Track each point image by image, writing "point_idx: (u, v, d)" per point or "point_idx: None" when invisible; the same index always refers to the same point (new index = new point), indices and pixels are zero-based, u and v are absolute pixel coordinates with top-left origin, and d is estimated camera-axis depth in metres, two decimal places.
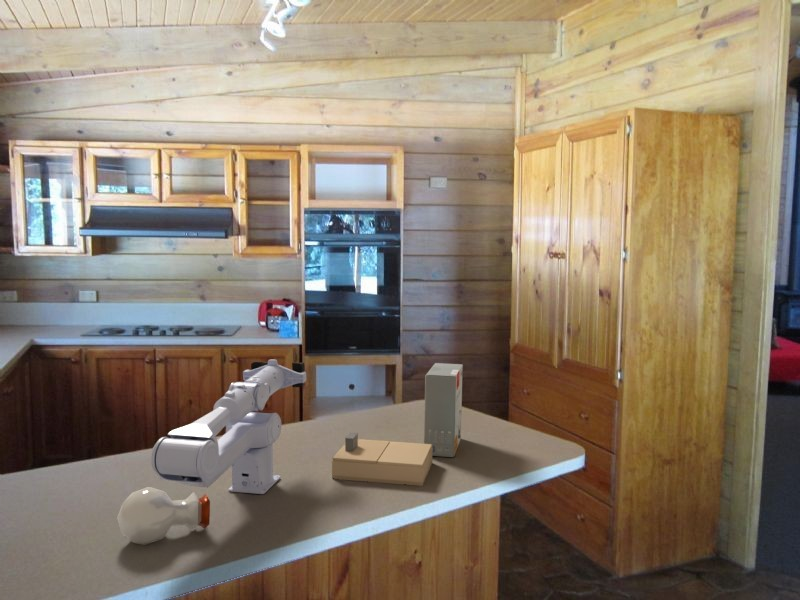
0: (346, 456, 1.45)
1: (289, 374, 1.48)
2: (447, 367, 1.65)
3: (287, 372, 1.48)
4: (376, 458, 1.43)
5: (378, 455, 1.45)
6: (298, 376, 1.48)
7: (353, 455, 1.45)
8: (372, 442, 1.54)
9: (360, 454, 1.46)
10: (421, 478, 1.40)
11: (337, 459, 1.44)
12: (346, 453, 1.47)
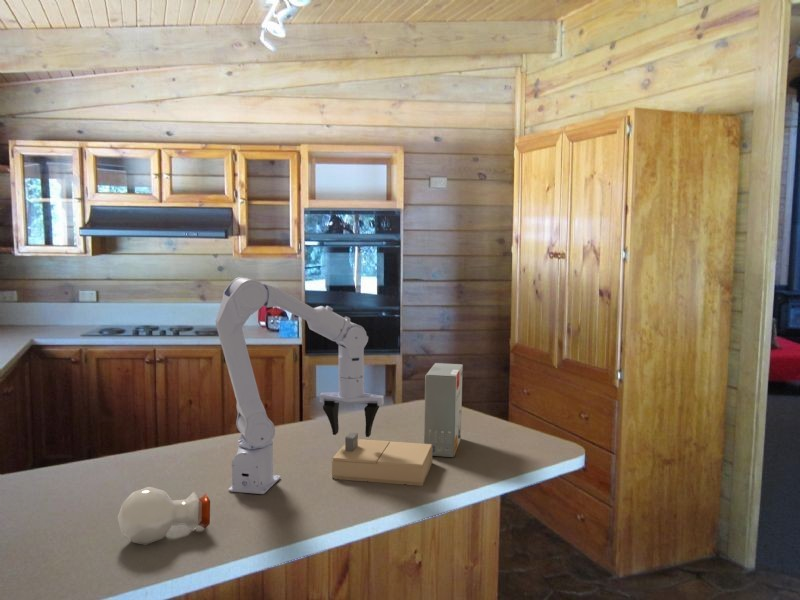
0: (346, 456, 1.45)
1: (368, 397, 1.48)
2: (447, 367, 1.65)
3: None
4: (376, 458, 1.43)
5: (378, 455, 1.45)
6: None
7: (353, 455, 1.45)
8: (372, 442, 1.54)
9: (360, 454, 1.46)
10: (421, 478, 1.40)
11: (337, 459, 1.44)
12: (346, 453, 1.47)
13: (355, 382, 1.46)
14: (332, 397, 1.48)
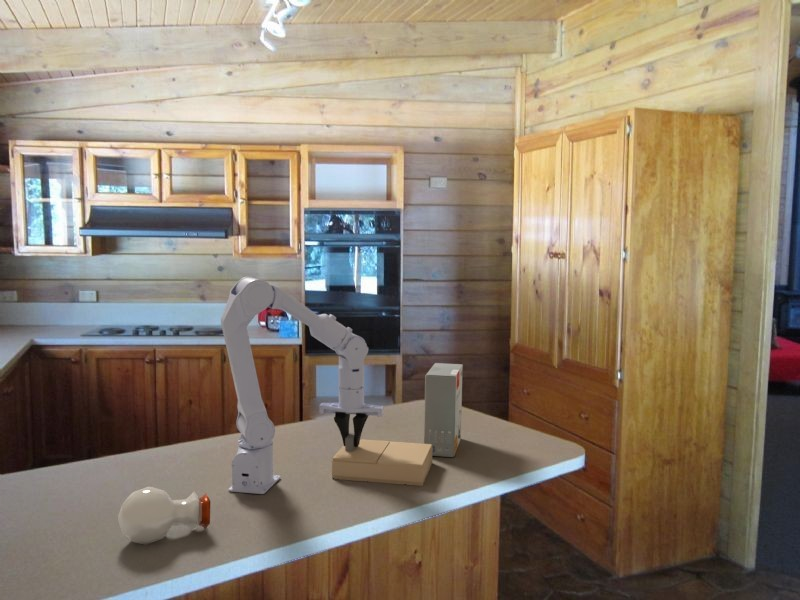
0: (346, 456, 1.45)
1: (368, 407, 1.49)
2: (447, 367, 1.65)
3: None
4: (376, 458, 1.43)
5: (378, 455, 1.45)
6: None
7: (353, 455, 1.45)
8: (372, 442, 1.54)
9: (360, 454, 1.46)
10: (421, 478, 1.40)
11: (337, 459, 1.44)
12: (346, 453, 1.47)
13: (355, 393, 1.46)
14: (332, 408, 1.48)
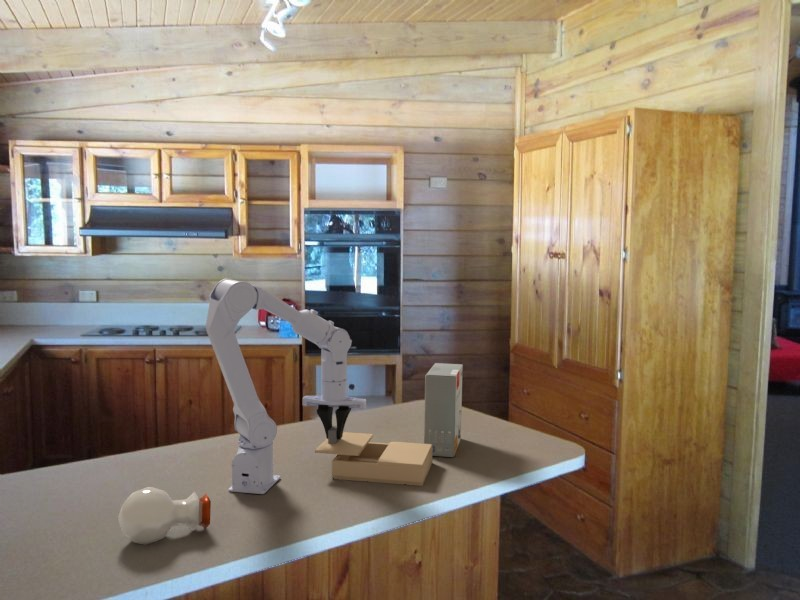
0: (329, 448, 1.45)
1: (351, 400, 1.49)
2: (447, 367, 1.65)
3: None
4: (358, 450, 1.44)
5: (360, 447, 1.46)
6: None
7: (336, 447, 1.46)
8: (355, 435, 1.55)
9: (343, 446, 1.46)
10: (421, 478, 1.40)
11: (319, 451, 1.44)
12: (329, 445, 1.47)
13: (337, 386, 1.46)
14: (315, 400, 1.48)
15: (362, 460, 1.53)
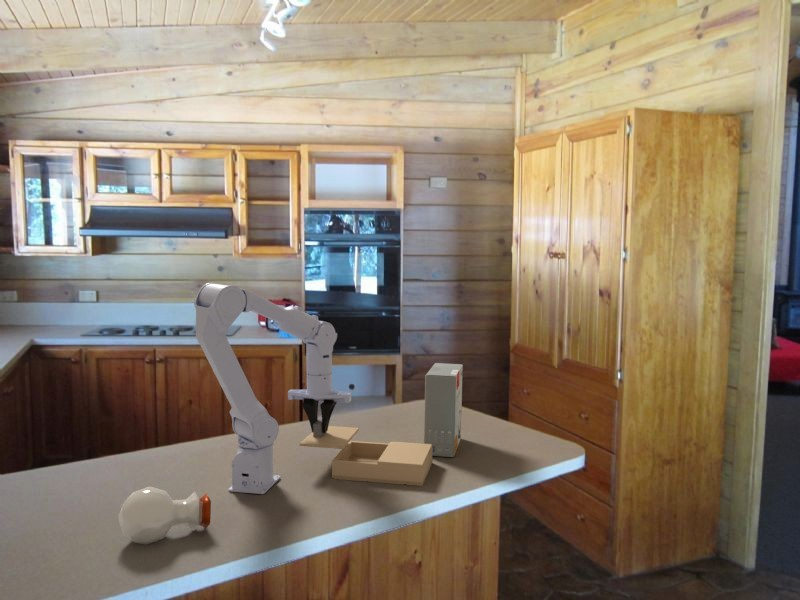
0: (314, 441, 1.46)
1: None
2: (447, 367, 1.65)
3: None
4: (343, 444, 1.45)
5: (345, 441, 1.46)
6: None
7: (321, 440, 1.47)
8: (341, 429, 1.55)
9: (327, 440, 1.47)
10: (421, 478, 1.40)
11: (304, 445, 1.45)
12: (314, 439, 1.48)
13: (322, 379, 1.47)
14: (300, 394, 1.49)
15: (362, 460, 1.53)
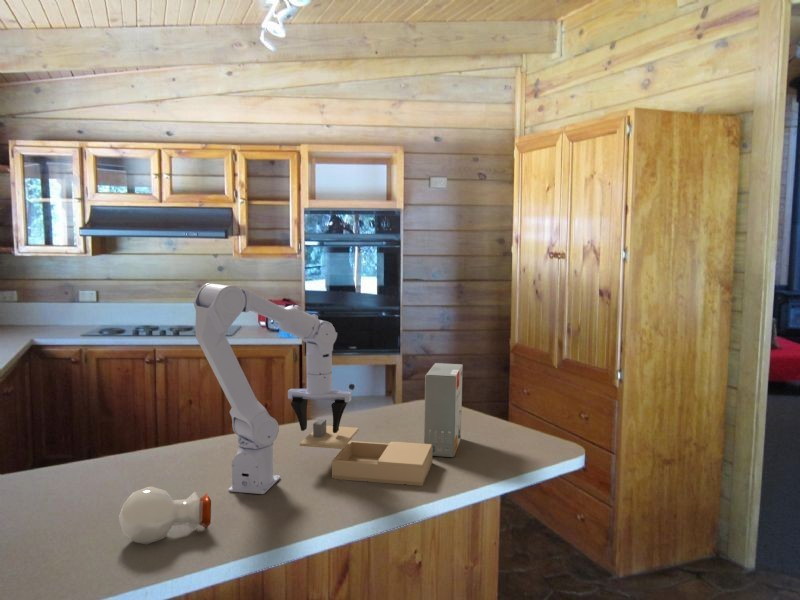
0: (313, 441, 1.46)
1: None
2: (447, 367, 1.65)
3: None
4: (343, 443, 1.45)
5: (345, 441, 1.46)
6: None
7: (321, 440, 1.47)
8: (341, 429, 1.55)
9: (327, 440, 1.47)
10: (421, 478, 1.40)
11: (304, 444, 1.45)
12: (314, 439, 1.48)
13: (322, 378, 1.47)
14: (300, 393, 1.49)
15: (362, 460, 1.53)
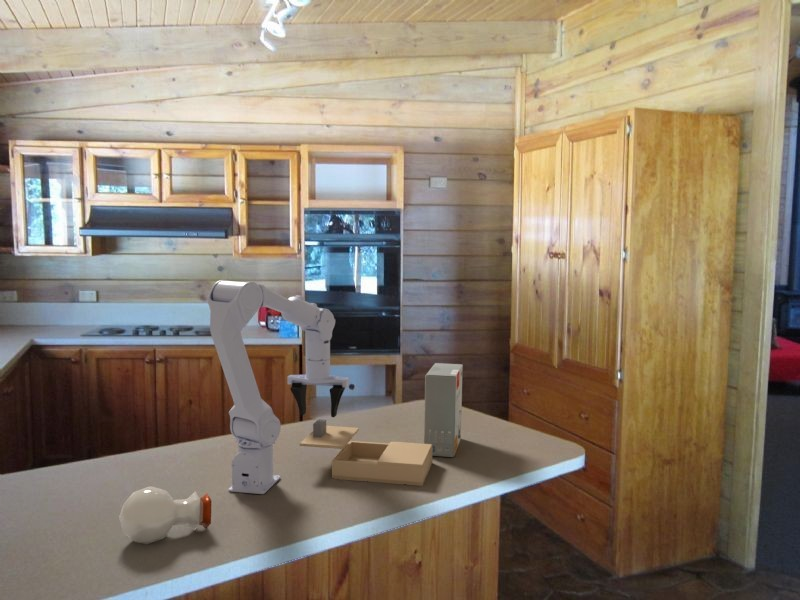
0: (313, 441, 1.46)
1: (334, 379, 1.55)
2: (447, 367, 1.65)
3: (333, 378, 1.55)
4: (343, 443, 1.45)
5: (345, 441, 1.46)
6: None
7: (321, 440, 1.47)
8: (341, 429, 1.55)
9: (327, 440, 1.47)
10: (421, 478, 1.40)
11: (304, 444, 1.45)
12: (314, 439, 1.48)
13: (321, 364, 1.52)
14: (299, 379, 1.54)
15: (362, 460, 1.53)
